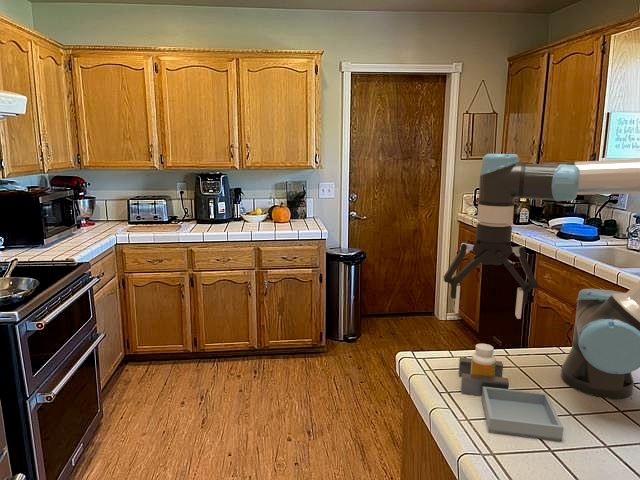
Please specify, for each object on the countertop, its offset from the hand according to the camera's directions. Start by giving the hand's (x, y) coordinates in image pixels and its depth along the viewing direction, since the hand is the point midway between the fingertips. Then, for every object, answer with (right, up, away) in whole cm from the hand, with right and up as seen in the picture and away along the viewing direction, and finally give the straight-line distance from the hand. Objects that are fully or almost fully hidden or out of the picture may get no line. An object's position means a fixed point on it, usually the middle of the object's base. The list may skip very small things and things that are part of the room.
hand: (486, 314), depth 111 cm
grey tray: (+3, -20, -11) cm, 23 cm away
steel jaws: (0, -17, +3) cm, 18 cm away
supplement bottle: (0, -18, +3) cm, 18 cm away
